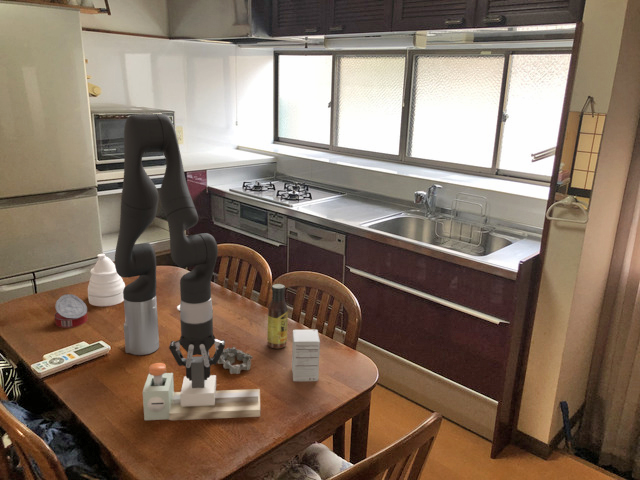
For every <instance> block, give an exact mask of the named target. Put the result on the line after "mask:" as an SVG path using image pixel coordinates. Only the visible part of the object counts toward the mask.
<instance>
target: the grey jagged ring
mask: <svg viewBox="0 0 640 480" xmlns="http://www.w3.org/2000/svg"><path fill="white" fill-rule="evenodd" d="M252 359H253V355H251V354H250V353H247V352H244V351H243V350H240V349H237V348H236V347H235V346H232V347H231V348H230V347H229V346H228V347H227V348H224V349H223V352H222V354H221V356H220V358H219V360H218V362H217V364H219V365H220V364H222V367H223V369H225V370H226V369H228V370H229V373H230V374H231V375H232V374H236V375H238V374H241V371H242V370H244V371H250V369H251V366H252V361H251V360H252ZM236 360H237V361H242V363H240V364H235V363H236Z"/></svg>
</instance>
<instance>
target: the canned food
mask: <svg viewBox="0 0 640 480" xmlns="http://www.w3.org/2000/svg"><path fill="white" fill-rule="evenodd" d="M54 308H55V310H56V313H54V322H55V325H56V327H59V328H67V329H68V328H75V327H79V326H82V325H83V324H85V323H86V322H88V320H89V319H88V307H87V305H86V303H85V302H84V301H83V300H82V299H81V298H79V296H77V295H76V294H72V293H70V294H68V293H66V294H63V295H61V296H60V297H59V298H58V299H57V300H56V302H55V306H54Z"/></svg>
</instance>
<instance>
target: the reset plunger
mask: <svg viewBox="0 0 640 480" xmlns="http://www.w3.org/2000/svg"><path fill="white" fill-rule="evenodd" d="M164 373H167V366H166V364H165V363H164V362H154V363H151V364H150V366H148V374H150V375H153V376H154V386H163V381H162V374H164Z"/></svg>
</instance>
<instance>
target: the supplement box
mask: <svg viewBox="0 0 640 480" xmlns="http://www.w3.org/2000/svg"><path fill="white" fill-rule="evenodd" d="M320 348H321V341H320V335H319V331H318V329H293V330H292V347H291V349H292V351H291V352H292V354H291V370H292V381H293V382H319V375H320V374H319V373H320V371H319V370H320V369H319V368H320V352H321V351H320Z"/></svg>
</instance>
